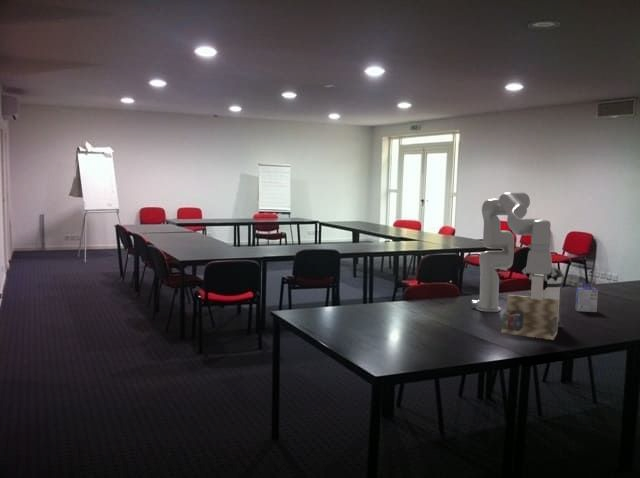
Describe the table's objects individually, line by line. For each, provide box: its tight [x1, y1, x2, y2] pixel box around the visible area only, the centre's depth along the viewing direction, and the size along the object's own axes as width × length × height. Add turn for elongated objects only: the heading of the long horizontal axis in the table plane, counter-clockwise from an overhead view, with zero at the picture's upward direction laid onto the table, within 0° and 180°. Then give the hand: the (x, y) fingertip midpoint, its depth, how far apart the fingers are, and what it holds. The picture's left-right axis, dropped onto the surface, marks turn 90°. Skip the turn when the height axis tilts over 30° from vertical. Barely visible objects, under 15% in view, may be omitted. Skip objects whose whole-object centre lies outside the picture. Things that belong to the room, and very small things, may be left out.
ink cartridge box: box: [574, 283, 599, 313], centre depth 288 cm, size 10×6×14 cm, turn 78°
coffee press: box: [542, 267, 564, 328], centre depth 260 cm, size 17×16×30 cm
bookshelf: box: [500, 294, 559, 341], centre depth 244 cm, size 22×12×16 cm, turn 59°
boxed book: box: [530, 274, 545, 300], centre depth 241 cm, size 4×8×10 cm, turn 149°
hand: (538, 288), depth 241 cm, fingers closed on boxed book, 4 cm apart
